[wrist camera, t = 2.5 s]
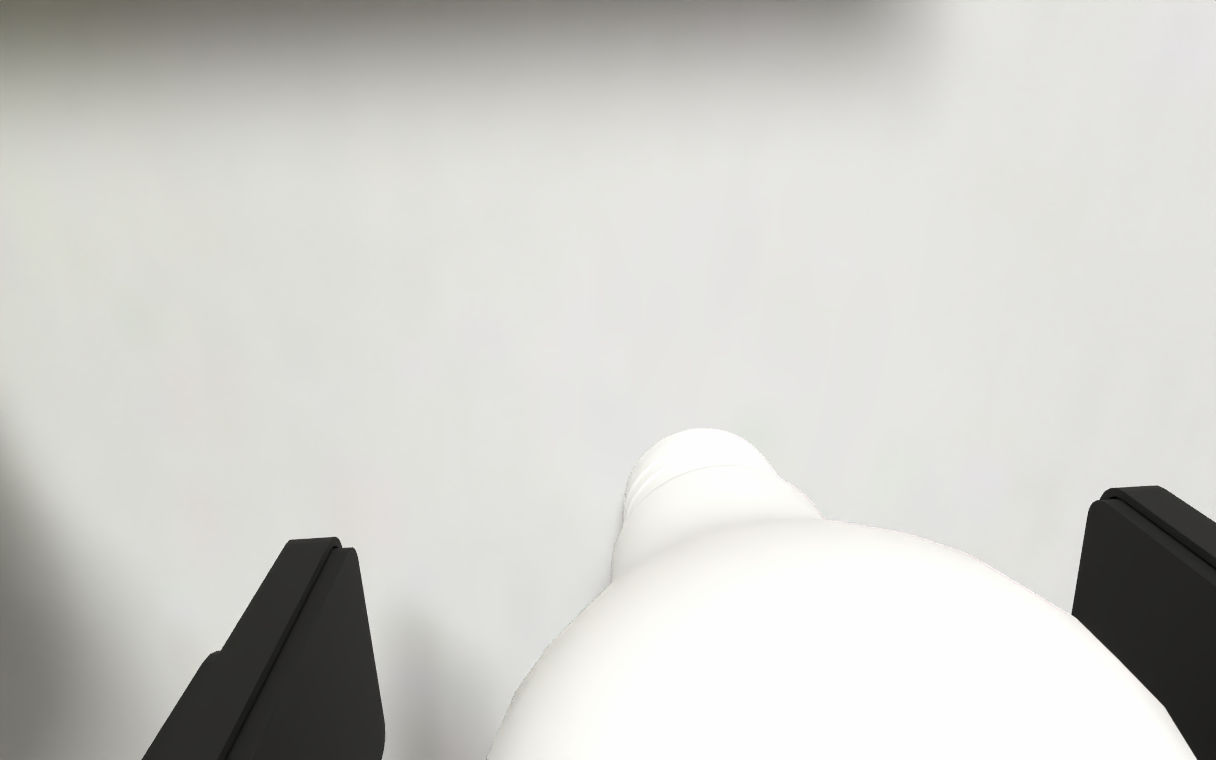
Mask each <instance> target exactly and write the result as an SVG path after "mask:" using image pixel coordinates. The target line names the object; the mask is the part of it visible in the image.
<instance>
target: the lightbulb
mask: <svg viewBox="0 0 1216 760" xmlns="http://www.w3.org/2000/svg"><path fill="white" fill-rule="evenodd" d="M486 760H1197V759H1196V757H1195V756H1194V754H1193V752H1192V751H1191V749H1190V748H1189V746H1188V744H1187V743H1186V741H1185V739H1184V738H1183V736H1182V735H1181V733H1180V731H1179V730H1178V728H1177V727H1176V725H1175V723H1174V722H1173V720H1172V718H1171V717H1170V715H1169V714H1168V712H1167V710H1166V709H1165V707H1164V706H1163V705H1162V704H1161V703H1160V702H1159V701H1158V700H1157V699H1156V698H1155V697H1154V696H1153V695H1152V694H1151V693H1150V692H1149V690H1148V689H1147V688H1146V687H1145V686H1144V685H1143V684H1142V683H1141V682H1140V681H1139V680H1138V679H1137V678H1136V677H1135V676H1134V675H1133V674H1132V673H1131V672H1130V671H1129V670H1128V669H1127V668H1126V667H1125V666H1124V665H1123V664H1122V663H1121V662H1120V661H1119V660H1118V659H1117V658H1116V657H1115V656H1114V655H1113V654H1112V653H1111V652H1110V651H1109V650H1108V649H1107V648H1106V647H1105V646H1104V645H1103V644H1102V643H1101V642H1100V641H1099V640H1098V639H1097V638H1096V637H1095V636H1094V635H1093V634H1092V633H1091V632H1090V631H1089V630H1088V629H1087V628H1086V627H1085V626H1084V625H1083V624H1082V623H1081V622H1080V621H1079V620H1078V619H1077V618H1075V617H1074V616H1072V615H1070V614H1069V613H1067V612H1065V611H1064V610H1062V609H1061V608H1059V607H1057V606H1056V605H1054V604H1052V603H1051V602H1049V601H1047V600H1046V599H1044V598H1042V597H1041V596H1039V595H1037V594H1036V593H1034V592H1032V591H1031V590H1029V589H1027V588H1026V587H1024V586H1022V585H1021V584H1019V583H1017V582H1016V581H1014V580H1012V579H1011V578H1009V577H1007V576H1006V575H1004V574H1002V573H1001V572H999V571H997V570H996V569H994V568H992V567H991V566H989V565H987V564H986V563H984V562H982V561H981V560H979V559H977V558H976V557H974V556H972V555H970V554H969V553H966V552H963V551H960V550H957V549H954V548H951V547H948V546H945V545H942V544H939V543H936V542H933V541H930V540H928V539H925V538H922V537H919V536H916V535H913V534H909V533H904V532H899V531H894V530H888V529H883V528H878V527H873V526H867V525H862V524H856V523H849V522H842V521H834V520H827V519H825V518H824V516H823V515H822V514H821V512H820V511H819V510H818V508H817V507H816V506H815V505H814V503H813V502H812V501H811V500H810V499H809V498H808V497H807V496H806V495H805V494H804V493H803V492H801V491H800V490H799V489H798V488H797V487H795V486H794V485H792V484H790V483H789V482H787V481H785V480H784V479H782V478H780V477H779V476H778V475H777V473H776V472H775V470H774V469H773V467H772V466H771V465H770V463H769V462H768V460H767V459H766V458H765V457H764V456H763V455H762V454H761V453H760V452H759V451H758V450H757V449H756V448H755V447H754V446H753V445H752V444H751V443H750V442H748V441H746V440H745V439H743V438H741V437H739V436H738V435H735V434H732V433H730V432H727V431H724V430H718V429H711V428H700V429H690V430H686V431H681V432H677V433H675V434H673V435H670V436H668V437H666V438H664V439H662V440H661V441H659V442H658V443H656V444H655V445H653V446H652V447H651V448H650V449H648V450H647V451H646V452H645V453H644V454H643V455H642V456H641V457H640V459H639V460H638V462H637V463H636V465H635V466H634V468H633V469H632V472H631V474H630V476H629V479H628V481H627V485H626V491H625V506H624V511H623V527H622V529H621V532H620V534H619V536H618V538H617V541H616V543H615V546H614V551H613V556H612V562H611V584H610V585H609V586H608V587H607V588H606V589H605V590H604V591H603V592H602V593H601V594H600V595H599V596H598V597H596V598H595V599H594V600H593V601H592V602H591V603H590V604H589V605H588V606H587V607H586V608H585V609H584V610H583V611H582V612H581V613H580V614H579V615H578V616H577V617H576V618H575V619H574V620H573V621H572V622H571V623H570V624H569V625H568V626H567V627H566V628H565V629H564V630H563V631H562V632H561V633H560V634H559V635H558V636H557V637H556V638H555V639H554V640H553V641H552V642H551V643H550V644H549V645H548V647H547V648H546V649H545V651H544V652H543V654H542V655H541V657H540V658H539V659H538V661H537V662H536V664H535V665H534V666H533V668H532V669H531V671H530V672H529V673H528V675H527V676H526V678H525V679H524V680H523V682H522V683H521V685H520V686H519V688H518V689H517V690H516V692H515V694H514V696H513V699H512V701H511V703H510V706H509V708H508V710H507V712H506V715H505V717H504V719H503V722H502V724H501V726H500V728H499V731H498V733H497V735H496V738H495V740H494V742H493V745H492V747H491V749H490V752H489V754H488V757H487V759H486Z"/></svg>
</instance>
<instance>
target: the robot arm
mask: <svg viewBox="0 0 1216 760" xmlns="http://www.w3.org/2000/svg"><path fill="white" fill-rule="evenodd" d="M1072 616H1074V617H1075V618H1077V619H1078V620H1079V621H1080V622H1081V623H1082V624H1083V625H1084V626H1085V627H1086V628H1087V629H1088V630H1089V631H1090V632H1091V633H1092V634H1093V635H1094V636H1095V637H1096V638H1097V639H1098V640H1099V641H1100V642H1101V643H1102V644H1103V645H1104V646H1105V647H1106V648H1107V649H1108V650H1109V651H1110V652H1111V653H1112V654H1113V655H1114V656H1115V657H1116V658H1117V659H1118V660H1119V661H1120V662H1121V663H1122V664H1123V665H1124V666H1125V667H1126V668H1127V669H1128V670H1129V671H1130V672H1131V673H1132V674H1133V675H1134V676H1135V677H1136V678H1137V679H1138V680H1139V681H1140V682H1141V683H1142V684H1143V685H1144V686H1145V687H1146V688H1147V689H1148V690H1149V692H1150V693H1151V694H1152V695H1153V696H1154V697H1155V698H1156V699H1157V700H1158V701H1159V702H1160V703H1161V704H1162V705H1163V706H1164V707H1165V709H1166V710H1167V712H1168V714H1169V715H1170V717H1171V718H1172V720H1173V722H1174V723H1175V725H1176V727H1177V728H1178V730H1179V731H1180V733H1181V735H1182V736H1183V738H1184V739H1185V741H1186V743H1187V744H1188V746H1189V748H1190V749H1191V751H1192V752H1193V754H1194V756H1195V757H1196V759H1197V760H1216V523H1215V522H1214V521H1212V520H1211V519H1209V518H1208V517H1206V516H1205V515H1203V514H1202V513H1200V512H1199V511H1197V510H1196V509H1194V508H1193V507H1191V506H1190V505H1188V504H1187V503H1185V502H1184V501H1182V500H1181V499H1179V498H1178V497H1176V496H1175V495H1173V494H1172V493H1170V492H1169V491H1167V490H1166V489H1164V488H1162V487H1159V486H1139V487H1123V488H1110V489H1108V490H1106V491H1105V492H1104V493H1103V495H1102V496H1101V498H1100V500H1097V501H1095V502H1093V503H1092V505H1091V506H1090V508H1089V511H1088V516H1087V522H1086V528H1085V534H1084V541H1083V547H1082V553H1081V559H1080V565H1079V571H1078V578H1077V584H1076V590H1075V596H1074V602H1073V609H1072ZM384 743H385V722H384V715H383V709H382V703H381V697H380V691H379V684H378V678H377V672H376V666H375V660H374V654H373V647H372V641H371V635H370V629H369V623H368V616H367V610H366V604H365V598H364V592H363V586H362V579H361V573H360V567H359V561H358V556H357V553H356V550H355V549H354V548H353V547H352V548H342V545H341V543H340V540H339V539H338V538H337V537H327V538H311V539H295V540H289V541H288V542H287V543H286V545H285V546H284V548H283V550H282V551H281V553H280V555H279V556H278V558H277V560H276V561H275V563H274V564H273V566H272V568H271V569H270V571H269V573H268V574H267V576H266V578H265V579H264V581H263V582H262V584H261V586H260V587H259V589H258V591H257V592H256V594H255V596H254V597H253V599H252V600H251V602H250V604H249V605H248V607H247V609H246V610H245V612H244V614H243V615H242V617H241V618H240V620H239V622H238V623H237V625H236V627H235V628H234V630H233V632H232V633H231V635H230V637H229V638H228V640H227V641H226V643H225V645H224V646H223V648H222V650H221V651H216V652H214V653H212V654H210V655H209V656H208V657H207V658H206V659H205V661H204V662H203V663H202V665H201V666H200V668H199V669H198V671H197V673H196V674H195V676H194V677H193V679H192V680H191V682H190V684H189V685H188V687H187V688H186V690H185V692H184V693H183V695H182V696H181V698H180V700H179V701H178V703H177V704H176V706H175V707H174V709H173V711H172V712H171V714H170V715H169V717H168V719H167V720H166V722H165V723H164V725H163V727H162V728H161V730H160V731H159V733H158V734H157V736H156V738H155V739H154V741H153V742H152V744H151V746H150V747H149V749H148V750H147V752H146V754H145V755H144V757H143V758H142V760H381V759H382V755H383V751H384Z"/></svg>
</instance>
